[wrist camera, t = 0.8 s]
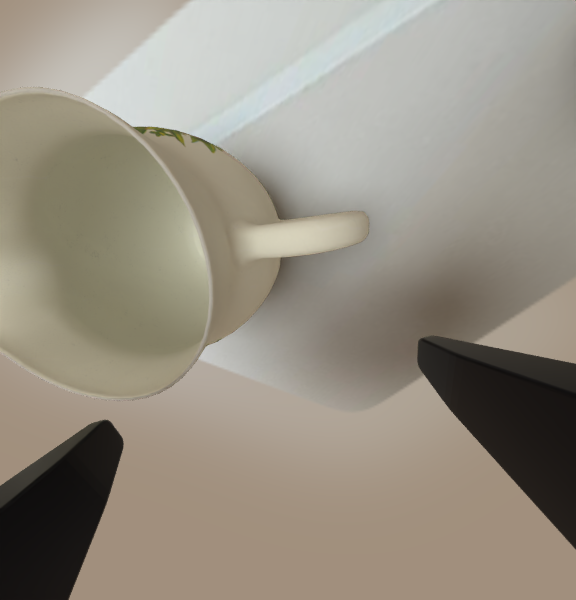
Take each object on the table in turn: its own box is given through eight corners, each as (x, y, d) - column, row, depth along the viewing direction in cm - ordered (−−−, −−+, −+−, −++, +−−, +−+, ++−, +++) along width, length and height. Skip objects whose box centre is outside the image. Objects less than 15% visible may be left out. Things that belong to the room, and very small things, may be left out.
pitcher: (365, 293, 20) (392, 435, 8) (162, 306, 25) (-37, 410, 12) (357, 129, 17) (379, -100, 4) (125, 178, 21) (-200, 133, 9)
